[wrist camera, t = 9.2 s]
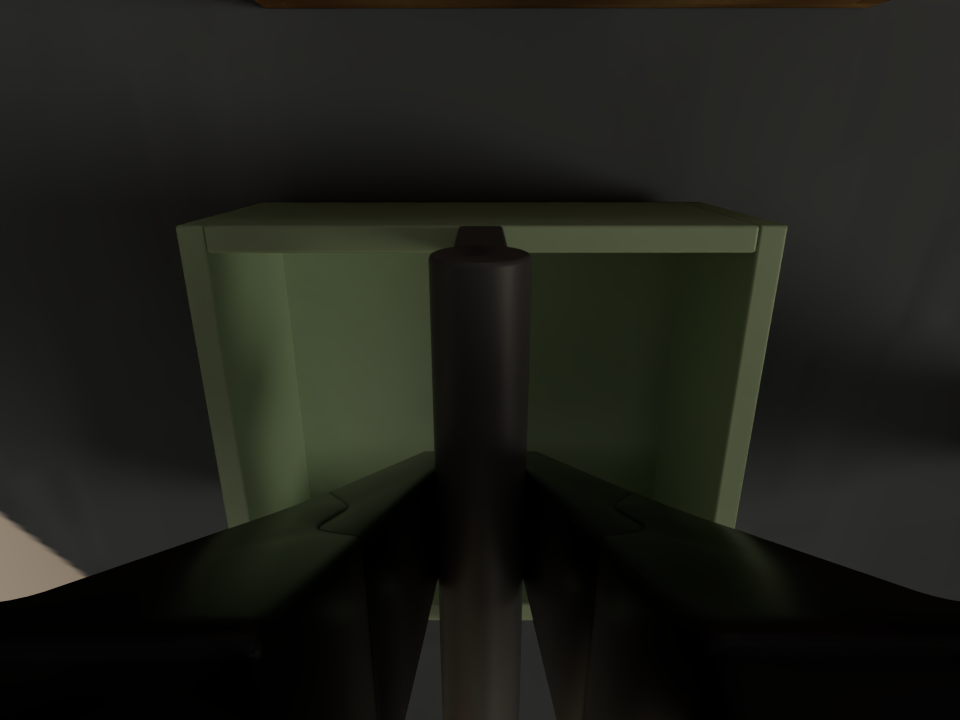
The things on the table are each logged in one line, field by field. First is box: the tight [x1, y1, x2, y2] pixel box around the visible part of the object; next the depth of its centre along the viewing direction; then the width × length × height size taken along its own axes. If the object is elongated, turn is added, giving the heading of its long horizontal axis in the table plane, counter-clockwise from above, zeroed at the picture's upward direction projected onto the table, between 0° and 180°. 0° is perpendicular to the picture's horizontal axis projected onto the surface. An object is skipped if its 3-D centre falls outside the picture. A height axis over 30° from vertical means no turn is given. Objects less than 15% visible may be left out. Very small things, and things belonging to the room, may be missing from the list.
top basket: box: [176, 202, 787, 720], centre depth 13 cm, size 11×9×8 cm
